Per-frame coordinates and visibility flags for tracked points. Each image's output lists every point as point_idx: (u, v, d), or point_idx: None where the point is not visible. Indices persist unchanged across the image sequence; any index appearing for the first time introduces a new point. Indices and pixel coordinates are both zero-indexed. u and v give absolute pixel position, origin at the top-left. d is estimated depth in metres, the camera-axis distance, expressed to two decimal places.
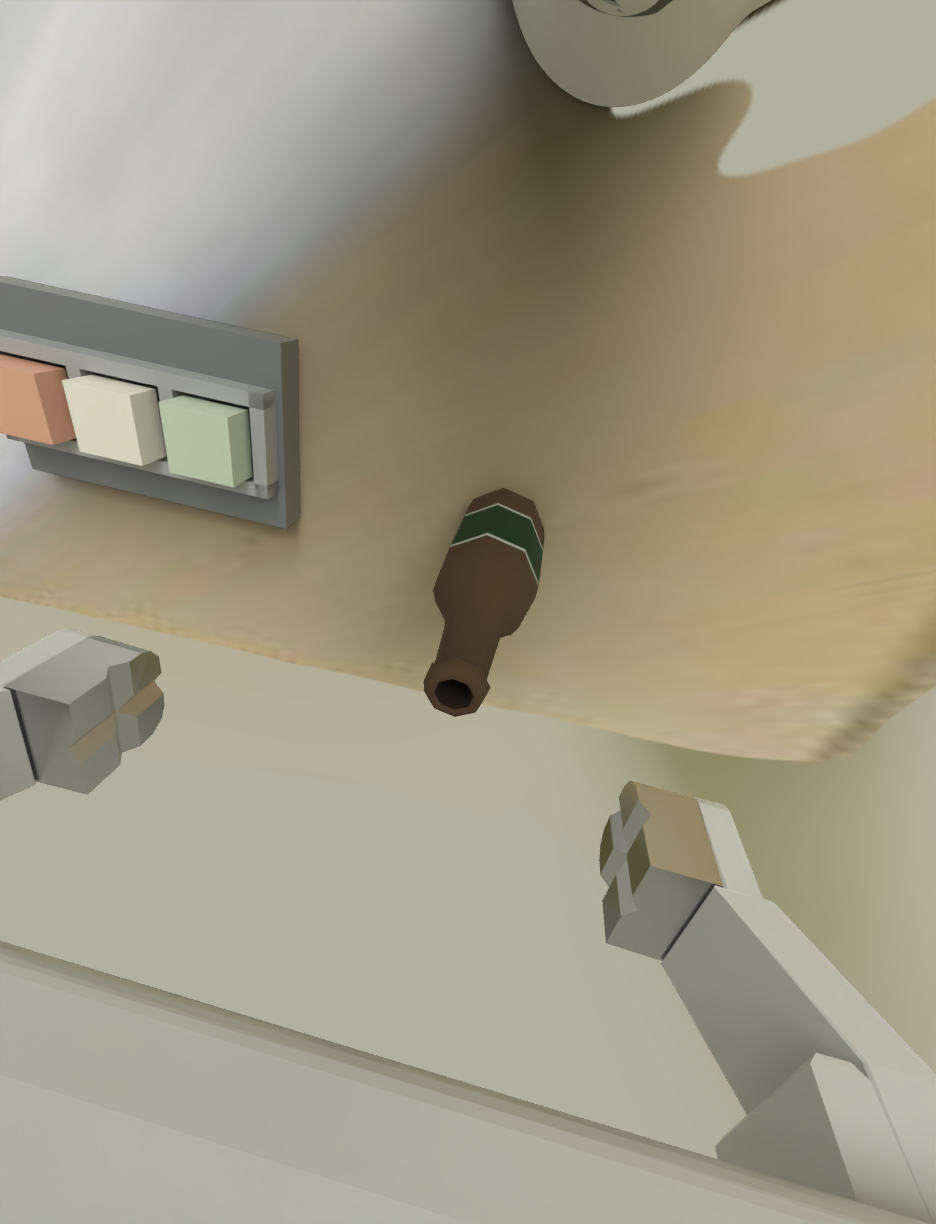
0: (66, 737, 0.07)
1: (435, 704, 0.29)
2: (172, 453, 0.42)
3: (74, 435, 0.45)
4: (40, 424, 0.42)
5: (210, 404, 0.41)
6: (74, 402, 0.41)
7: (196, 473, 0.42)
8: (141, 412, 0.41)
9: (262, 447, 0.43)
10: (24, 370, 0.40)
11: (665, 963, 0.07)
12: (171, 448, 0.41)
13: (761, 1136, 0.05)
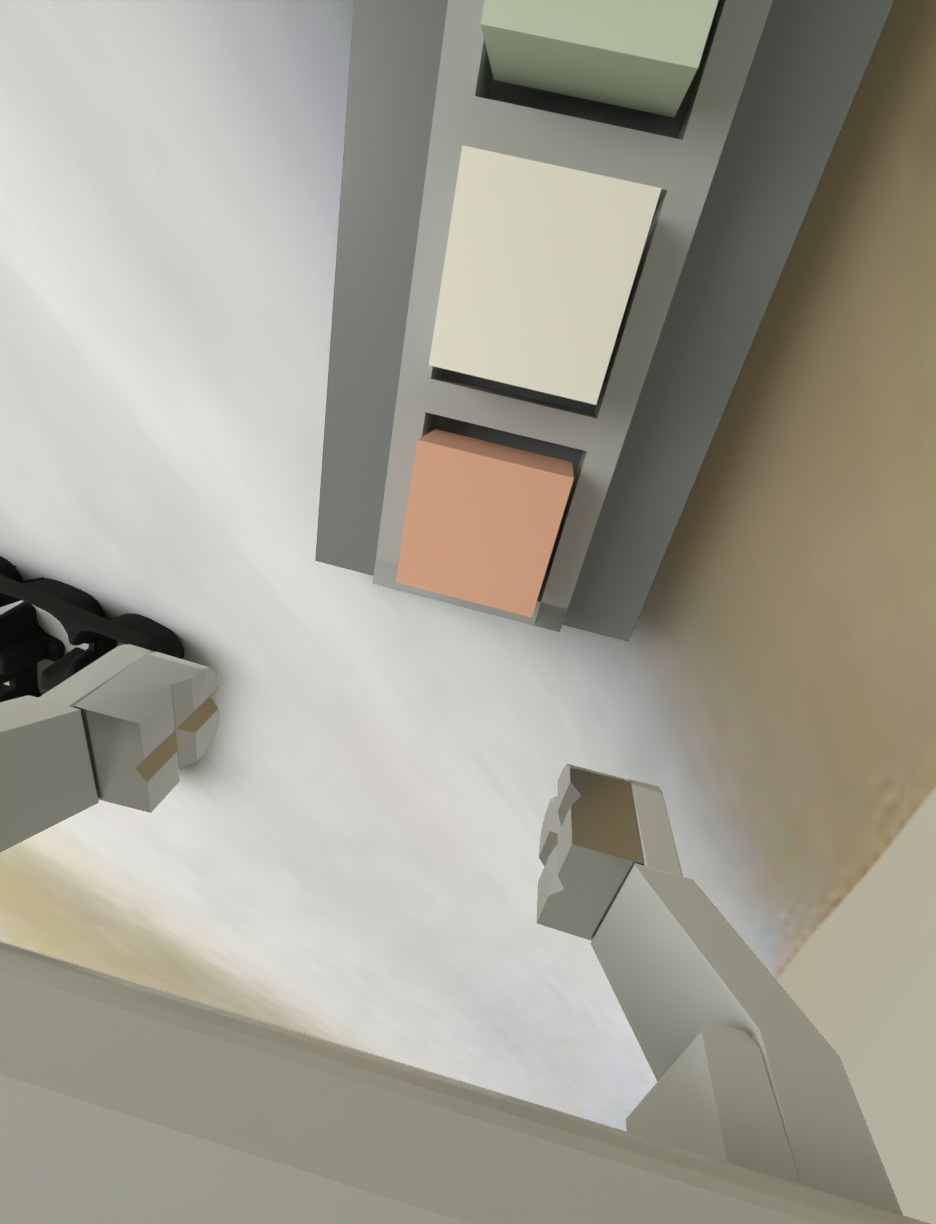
0: (133, 756, 0.07)
1: None
2: (638, 25, 0.13)
3: (565, 464, 0.20)
4: (523, 486, 0.18)
5: None
6: (477, 355, 0.16)
7: None
8: None
9: None
10: None
11: (593, 943, 0.07)
12: (621, 23, 0.13)
13: (660, 1106, 0.05)
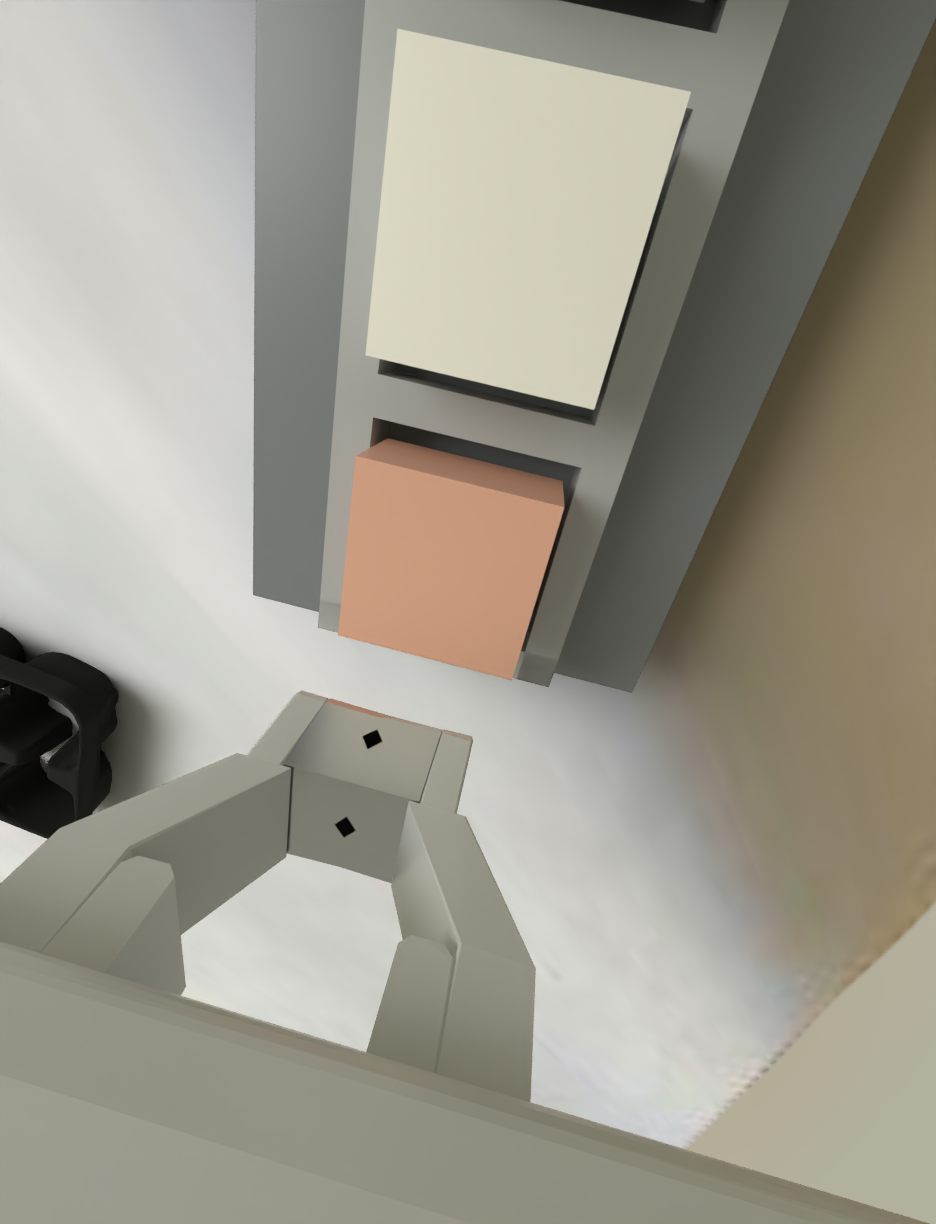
0: (335, 812, 0.07)
1: None
2: None
3: (554, 484, 0.15)
4: (498, 517, 0.14)
5: None
6: (430, 341, 0.12)
7: None
8: None
9: None
10: None
11: (391, 885, 0.07)
12: None
13: None
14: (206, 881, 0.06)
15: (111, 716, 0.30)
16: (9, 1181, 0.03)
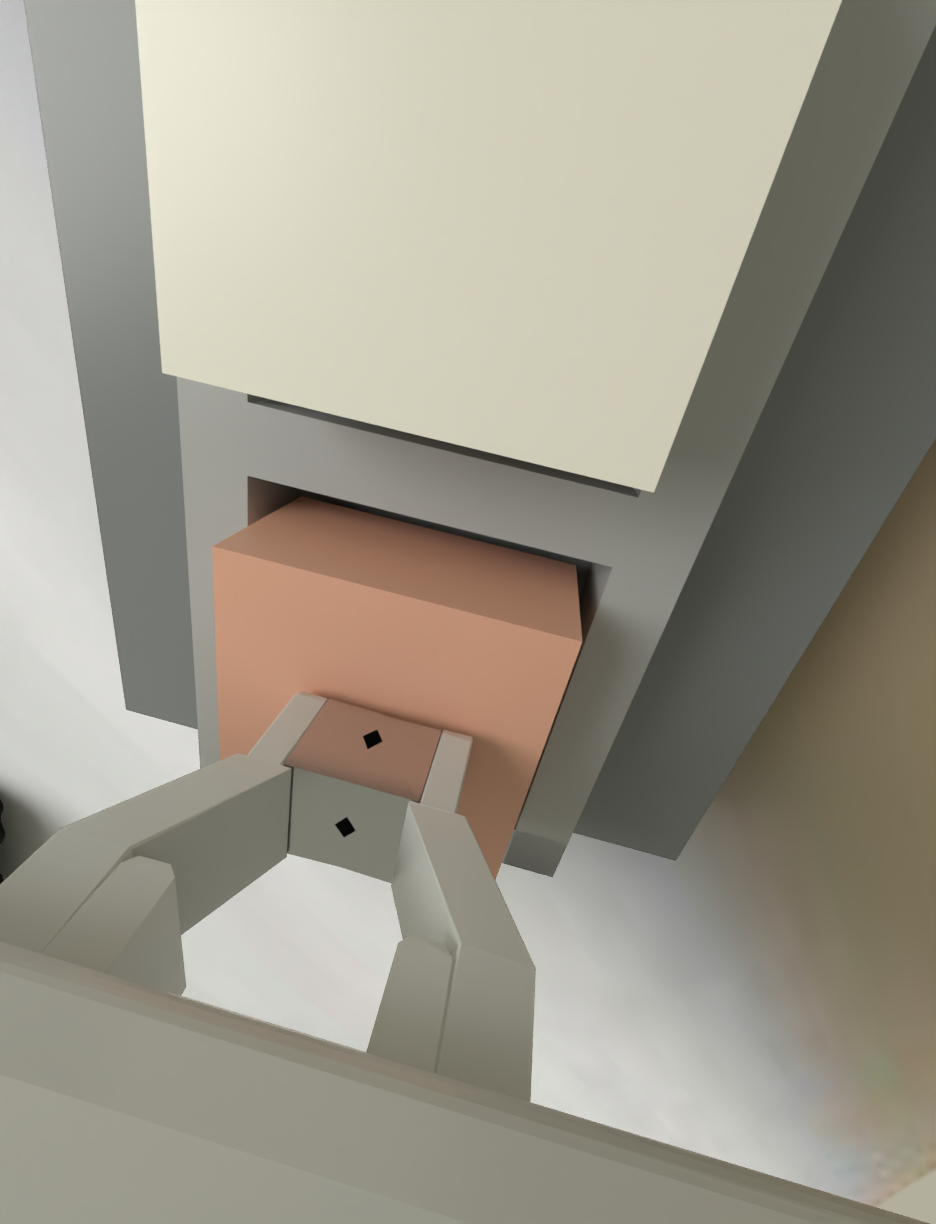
0: (335, 813, 0.07)
1: None
2: None
3: (563, 576, 0.09)
4: (464, 653, 0.08)
5: None
6: (293, 343, 0.05)
7: None
8: None
9: None
10: None
11: (391, 885, 0.07)
12: None
13: None
14: (206, 883, 0.06)
15: None
16: (9, 1181, 0.03)
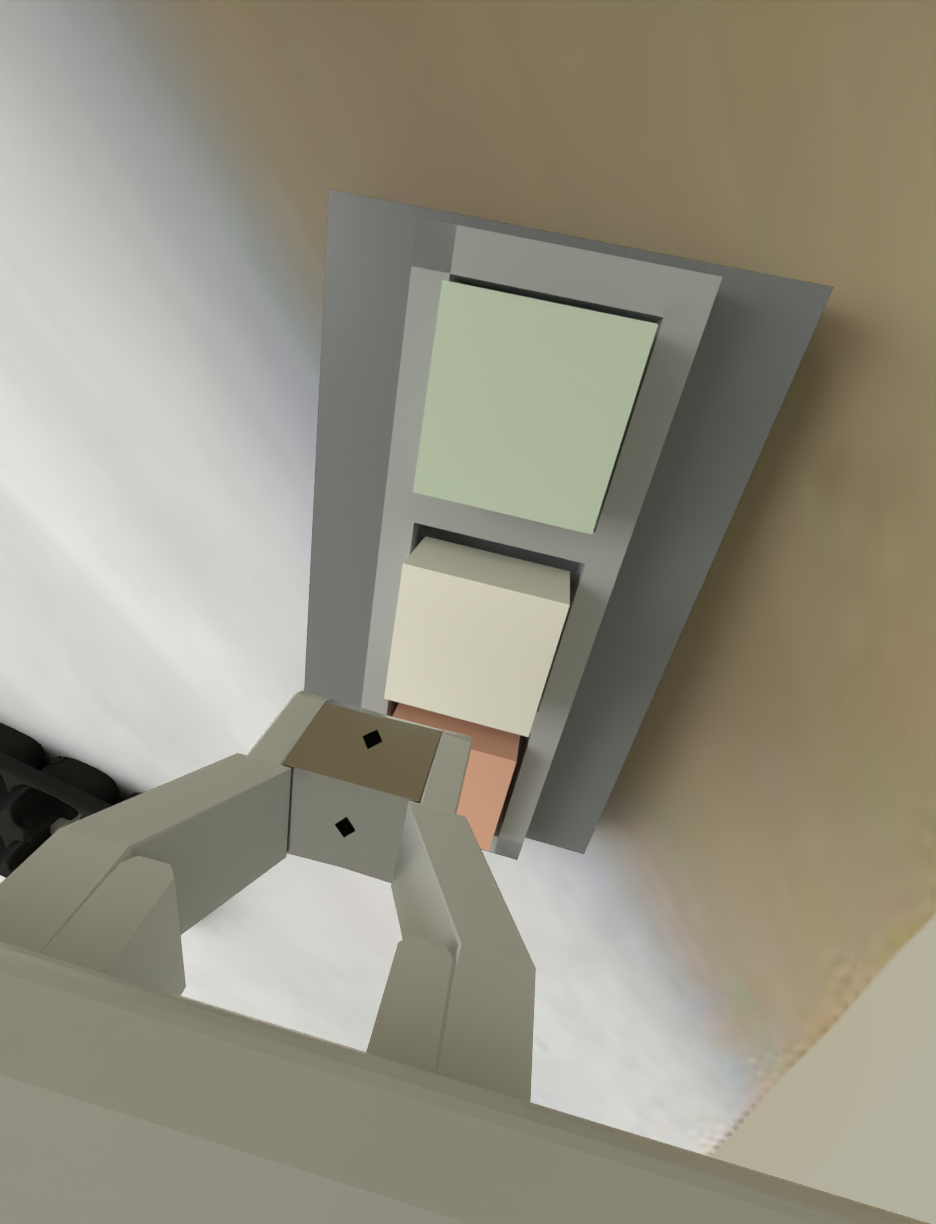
0: (335, 813, 0.07)
1: None
2: (540, 505, 0.15)
3: None
4: (476, 763, 0.22)
5: None
6: (424, 696, 0.19)
7: (601, 449, 0.14)
8: (451, 564, 0.18)
9: (558, 256, 0.15)
10: None
11: (391, 885, 0.07)
12: (527, 502, 0.15)
13: None
14: (205, 882, 0.06)
15: None
16: (9, 1181, 0.03)
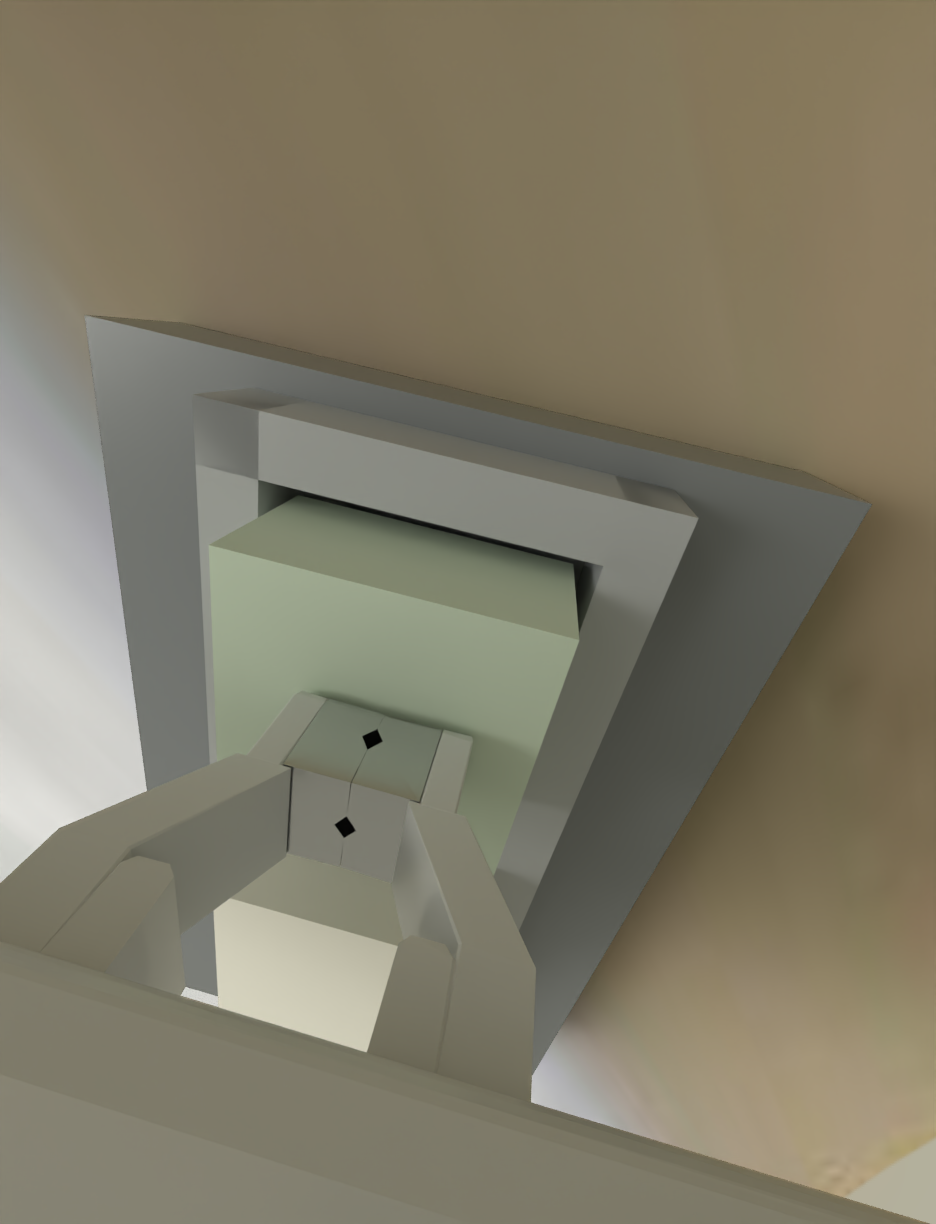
0: (335, 813, 0.07)
1: None
2: None
3: None
4: None
5: None
6: None
7: (497, 787, 0.09)
8: (296, 872, 0.12)
9: (429, 468, 0.09)
10: None
11: None
12: None
13: None
14: (205, 882, 0.06)
15: None
16: (10, 1181, 0.03)
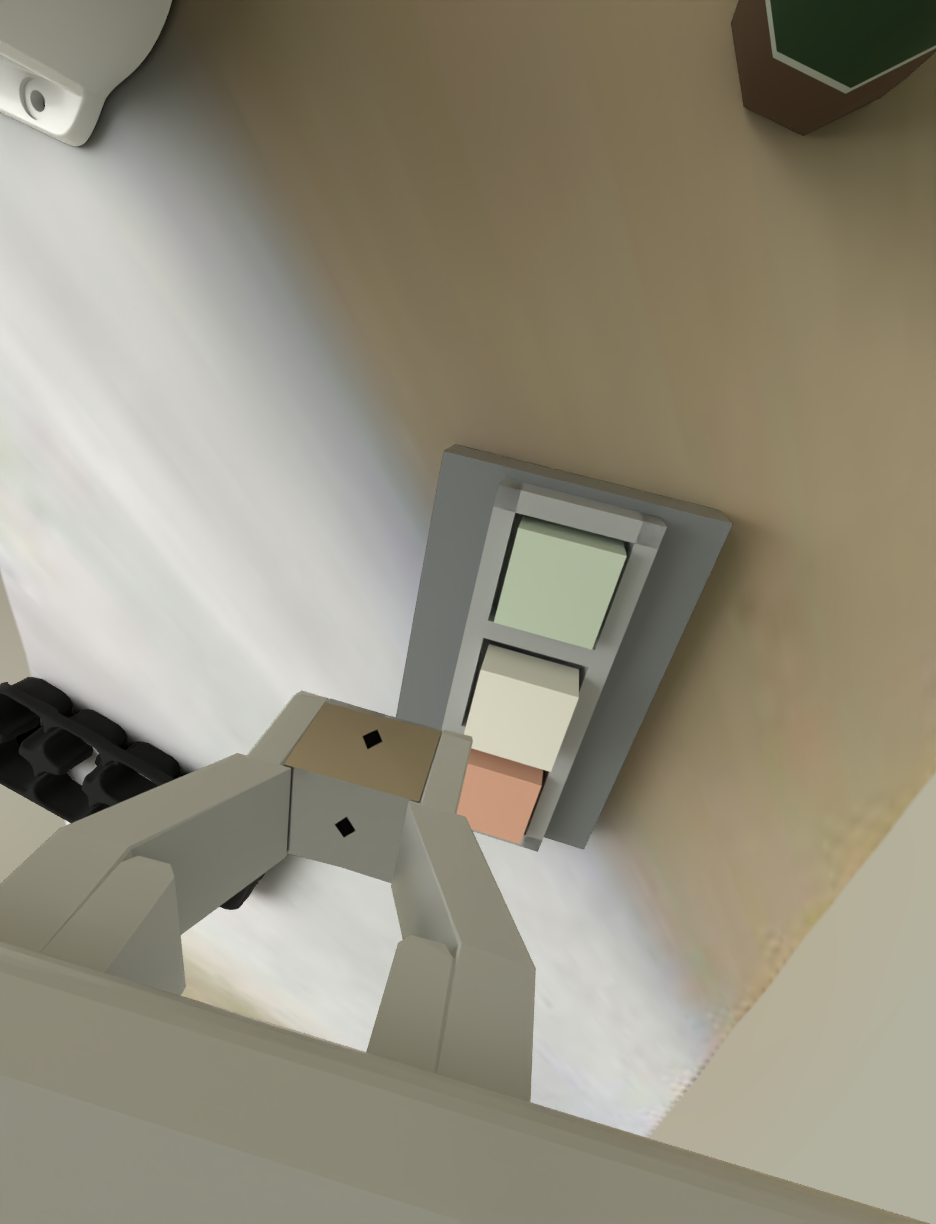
0: (335, 812, 0.07)
1: None
2: (564, 633, 0.28)
3: None
4: (514, 786, 0.33)
5: None
6: (487, 744, 0.31)
7: (597, 609, 0.27)
8: (507, 668, 0.29)
9: (577, 509, 0.26)
10: None
11: (391, 885, 0.07)
12: (557, 631, 0.28)
13: None
14: (205, 882, 0.06)
15: None
16: (9, 1181, 0.03)
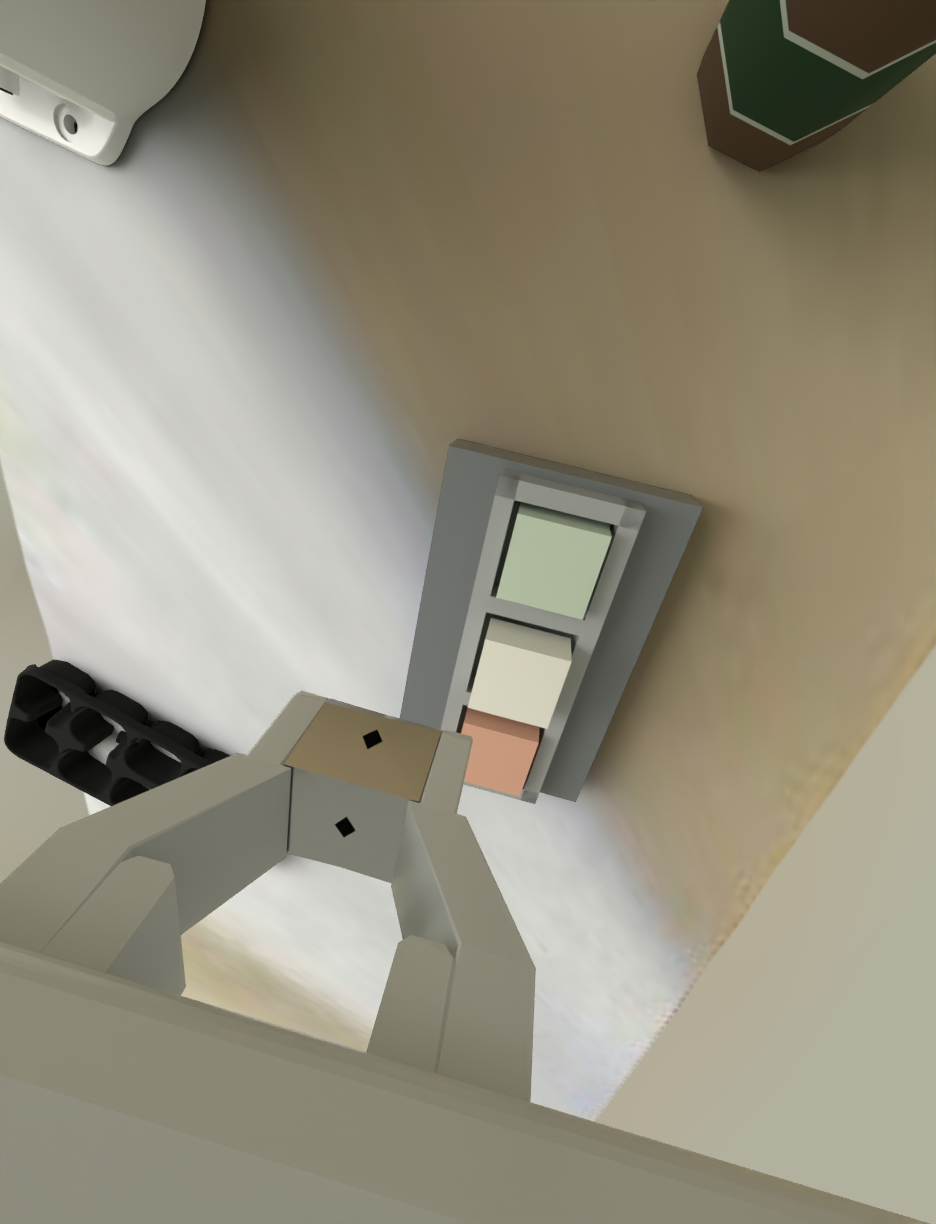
0: (335, 812, 0.07)
1: None
2: (558, 605, 0.32)
3: None
4: (514, 744, 0.37)
5: None
6: (491, 706, 0.35)
7: (587, 583, 0.31)
8: (508, 637, 0.33)
9: (568, 497, 0.30)
10: None
11: (391, 885, 0.07)
12: (551, 604, 0.32)
13: None
14: (206, 882, 0.06)
15: None
16: (9, 1181, 0.03)
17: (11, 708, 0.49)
